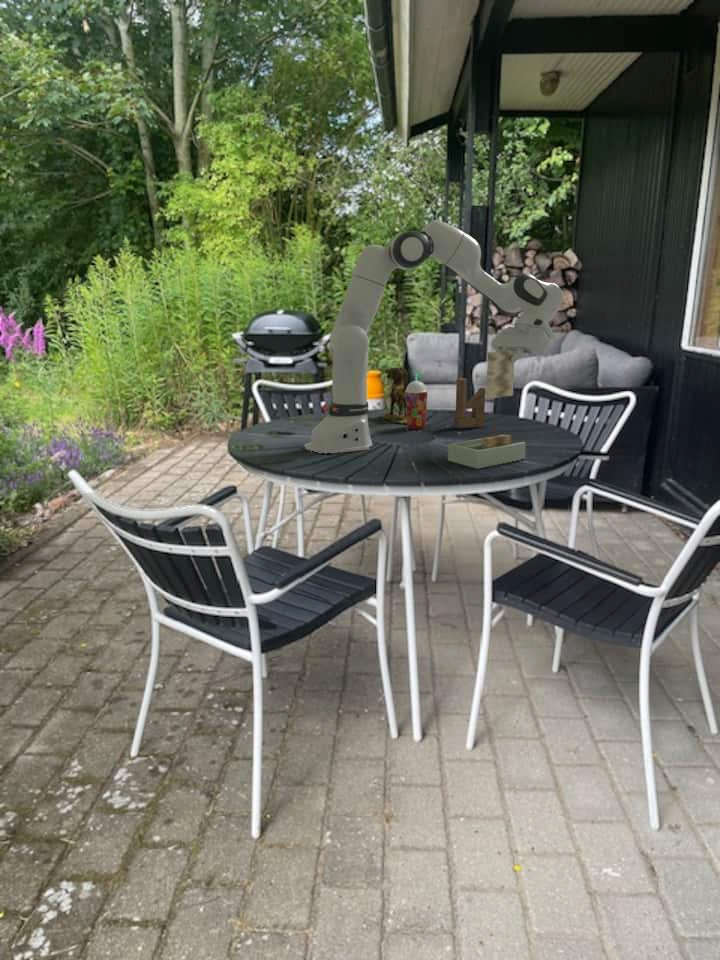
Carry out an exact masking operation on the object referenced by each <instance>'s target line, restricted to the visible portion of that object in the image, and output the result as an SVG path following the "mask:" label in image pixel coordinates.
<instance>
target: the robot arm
mask: <svg viewBox="0 0 720 960" xmlns="http://www.w3.org/2000/svg"><path fill="white" fill-rule="evenodd" d="M481 257H482V250H481V246H480V244H479V242H478V241H477V240H476V239H474V238H473V237H472V236H471V235H469V234H468V233H466V232H464V231H463V230H461V229H460V228H457V227H455V226H454V225H451V224H449V223H447V222H444V221H443V220H438V219H434V220H432V221H430V222H428V223H427V224H426V225H425V226H424V228H423V229H422V230H417V231H416V230H415V231H414V230H409V231H404V232H400V233H399V234H397V235H395V237H393V238H392V239H391V240H390V241H389V242H388V243H387V244H385V246H383V245H380V244H369V245H367V246H365V248H363V250H362V251H361V254H360V256H359V257H358V259H357V262H356V264H355V267H354V268H353V272H352V275H351V277H350V280H349V283H348V285H347V286H348V287H347V289H346V291H345V296H344V298H343V302H342V303H341V306H340V308H339V310H338V311H339V312H338V314H337V317H336V319H335V321H334V324H333V326H332V330H331V333H330V335H329V344H330V347H331V349H332V351H333V352H332V356H333V357H332V378H331V379H332V380H331V382H332V383H331V384H332V385H331V386H332V388H331V389H332V402H331V404H330V405H329V404H326V403H325V404H322V406H321V408H322V410H323V411H325V412H328V413H327V416H326V417H324V418H323V419H322V420H321V421H320V422H319V423H318V424H317V425H316V426H314V427H313V429H312V431H311V437H310V442H308V443H305V444H304V445H303V448H304V447H305V448H304V449H305V450H306V449H307V450H306V451H309V450H310V451H309V452H312V451H314V452H313V453H315V452H318V453H317V454H321V453H325V454H324V455H328V454H327V453H331V454H339V453H348V452H356V451H358V452H359V451H367V450H369V449H370V447H372V446H373V442H372V438H371V434H370V428H369V419H368V418H369V402H368V392H367V391H368V390H367V389H368V388H367V387H368V385H367V383H368V380H367V379H368V377H367V376H368V368H369V367H368V366H369V343H370V342H369V340H370V339H369V336H368V333H369V330H370V328H371V325H372V323H373V321H374V319H375V318H376V317H375V316H376V314H377V313H378V311H379V308H380V304H381V302H382V300H383V299H382V298H383V295H384V293H385V289H386V286H387V283H388V280H389V278H390V276H391V273H392V272H393V271H395V270H396V271H411V270H414V269H416V268H418V267H419V266H421V265H422V264H423V263H424V262H425V261H426V260H427V259H428V258H432V259H435V260H438V261H439V262H440V263H441V264H444V265H445V266H446V267H448V268H450V269H451V270H452V271H453V272H455V273H456V274H457V275H458V276H459V277H460V279H461V280H463V282H465V283H466V284H467V285H469V286H470V287H471V288H473V289H474V290H475V291H477V292H478V293H479V294H481V295H482V296H483V297H484V298H486V299H487V300H488V301H490V303H491V304H492V306H493V307H494V308H495V309H496V310H497V311H498V313H500V314H501V315H503V316H506V317H513V316H516V315H518V314H519V313H520V312H521V311H523V313H522V314H521V316H520V317H519V318H518V319H517V321H516V322H515V325H514V326H508V327H507V328H502V329H501V330H500V331H499V332H498V333H497V334H496V336H494V338H493V339H492V341H491V342H490V343H491V344H490V345H491V347H492V349H493V350H494V352H497V351H515V354H514V355H511V356H510V358H509V361H510V363H514V364H515V363H516V362H517V361H518V360H519V359H520V358H522V357H524V355H525V354H526V355H536V356H539V355H541V354H543V353H544V352H545V351H546V349H547V347H548V346H549V345H550V343H551V340H553V339H554V337H555V334H554V331H553V330H552V328H551V327H550V325H549V323H550V322H551V321H552V320H553V319H554V318H555V317H556V315H557V314H558V311H559V310H560V308H561V306H562V304H563V301H564V292H563V290H562V289H561V287H560V286H558V285H557V284H556V283H554V282H545V281H542V280H540V279H538V278H537V277H536V276H534V274H530V273H528V272H527V273H526V272H525V273H520V274H518V275H517V276H516V277H515V278H513V279H511V280H510V281H509V282H508V283H501V282H499V281H498V280H497V279H495V278H494V277H493V276H491V275H490V274H489V273H487V272H486V271H485V270H484V269H483V268H482V266H481ZM338 452H339V453H338Z"/></svg>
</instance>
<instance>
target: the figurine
mask: <svg viewBox="0 0 720 960" xmlns="http://www.w3.org/2000/svg"><path fill="white" fill-rule="evenodd" d="M384 373H385V374H386V378H387V379H391V380H392V385H391V390H390V399H391V400H390V402H391V403H390V406H391V407H390V411H389V412H386V413H385V414H381V415H379V418H380V419H383V418H384V420H385V421H390V420H391V421H390V422H391V423H392V422H393V423H392V424H394V423H395V424H394V425H401V424H402V425H401V426H408V425H407V416H406V410H405V412H404V414H403V408H404V404H405V405H406V398H405V390H406V388H407V386H408V379H409V373H408V371H407V369H406V368H405V369H403V367H393V368H392V367H391V368H390V369H389V368H388V369H384ZM395 403H396V404H397V405H398V407H399V410H398V412H394V405H395Z"/></svg>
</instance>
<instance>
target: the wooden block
mask: <svg viewBox="0 0 720 960" xmlns="http://www.w3.org/2000/svg"><path fill="white" fill-rule="evenodd" d="M467 384H468V383H467V378H464V377H460V378H456V388H455V389H456V391H455V392H456V396H455V401H456V402H455V417H454V418H453V427H454V429H455V428H456V429H458V430H460V429H461V430H462V429H471V428H483V427H485V406H486V388H484V387H479V388H478V390H477V391H476V392H475V393H474V394H473V395H472V397H471V398H469V400H468V401H467V386H468V385H467ZM467 409H468V410H469V409H470V410H471V416H467Z"/></svg>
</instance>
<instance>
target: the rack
mask: <svg viewBox="0 0 720 960" xmlns="http://www.w3.org/2000/svg"><path fill="white" fill-rule="evenodd" d="M482 438H483V437H481V438H476V439H470V440H464V441H459V442H452V443H448V444H447V461H449V462H452V463H456V464H458V465H463V466H467V467H469V468H474V469H477V470H478V469H482V468H488V467H493V466H498V464H499V465H503V463H504V464H508V462H509V463H512V461H514V462H517V461H516V460H519V461H522V460H521V459H524V460H526V446H527V445H526V442H523V441H522V442H516V443H511V444H510V445H505V446H499V447H493V448H488V449H482Z"/></svg>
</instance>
